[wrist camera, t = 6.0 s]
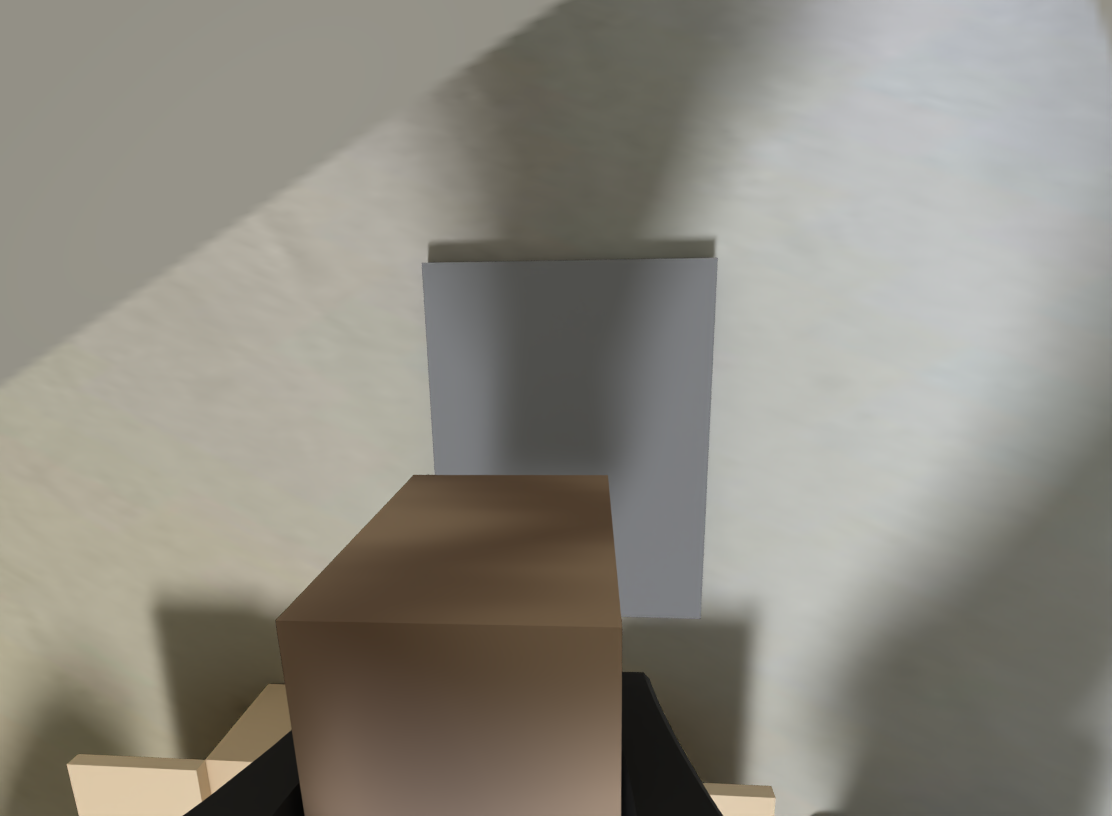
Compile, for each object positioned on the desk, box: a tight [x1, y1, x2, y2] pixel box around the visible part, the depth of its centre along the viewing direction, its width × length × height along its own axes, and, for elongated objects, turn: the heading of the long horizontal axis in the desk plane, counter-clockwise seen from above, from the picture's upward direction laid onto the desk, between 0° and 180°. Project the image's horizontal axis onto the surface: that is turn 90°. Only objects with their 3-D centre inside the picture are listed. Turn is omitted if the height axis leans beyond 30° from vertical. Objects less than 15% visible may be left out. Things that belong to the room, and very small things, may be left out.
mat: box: [422, 258, 718, 619], centre depth 18 cm, size 9×12×1 cm
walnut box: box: [275, 475, 622, 816], centre depth 9 cm, size 4×9×5 cm, turn 1°
